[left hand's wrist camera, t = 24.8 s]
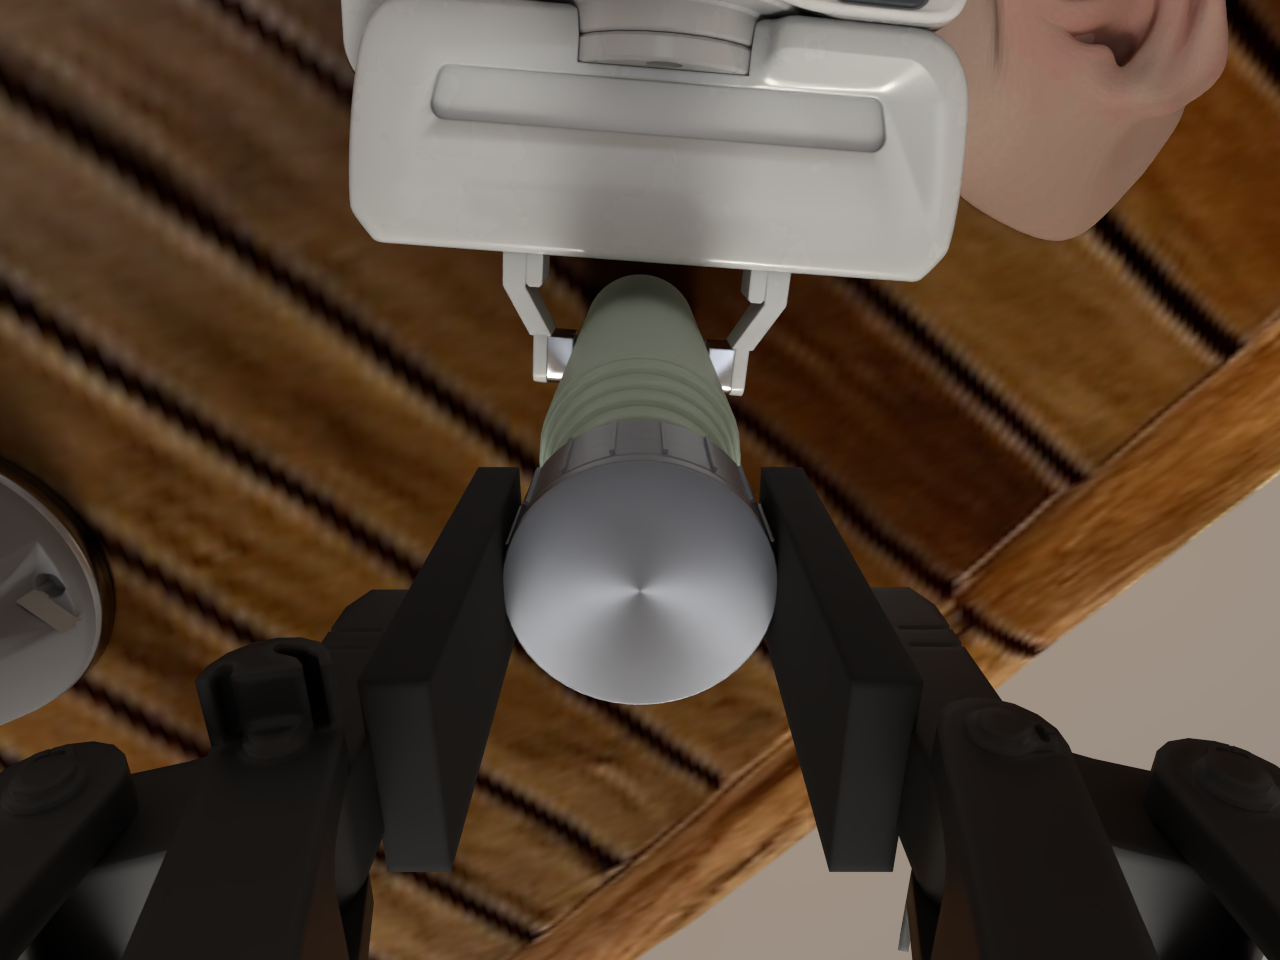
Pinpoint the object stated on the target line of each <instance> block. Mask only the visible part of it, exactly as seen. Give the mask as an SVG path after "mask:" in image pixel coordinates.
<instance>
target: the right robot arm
mask: <svg viewBox="0 0 1280 960" xmlns="http://www.w3.org/2000/svg"><path fill="white" fill-rule="evenodd" d="M966 1H967V0H341V6H342V23H343V39H344V48H345V53H346V57H347V60H348V63H349V65H350V67H351V69H352V71H353V72H354V74H355V78H354V86H353V97H352V107H351V121H350V140H349V197H350V206H351V209H352V211H353V213H354V215H355V216H356V218H357V219H358V220H359V222H360V223H361V224H362V226H363V227H364V228H365V229H366V231H367V232H368V233H369V234H370V236H371V237H372V238H373V239H374V240H376V241H378V242H385V243H397V244H411V245H424V246H437V247H451V248H464V249H478V250H491V251H503V286H504V288H505V290H506V292H507V294H508V295H509V297H510V299H511V301H512V303H513V305H514V306H515V308H516V310H517V312H518V314H519V315H520V317H521V319H522V321H523V323H524V325H525V326H526V328H527V330H528V332H529V334H530V335H534V340H533V379H534V381H538V382H555V383H560V380H561V378H562V375H563V373H564V370H565V368H566V365H567V363H568V360H569V358H570V356H571V353H572V351H573V348H574V346H575V343H576V341H577V330H571V329H561V328H556V325H555V323H554V321H553V319H552V317H551V315H550V313H549V311H548V309H547V307H546V305H545V303H544V301H543V299H542V297H541V295H540V293H539V291H538V289H537V287H540V286H541V285H542V284H543V283H544V282H545V281H546V280H547V279H548V278H549V261H550V255H559V256H572V257H586V258H599V259H612V260H626V261H639V262H653V263H666V264H680V265H693V266H707V267H720V268H734V269H743V276H742V286H741V292H742V294H743V295H744V296H745V297H746V298H747V299H748V300H749V301H750V302H751V304H750V306H749V307H748V309H747V310H746V312H745V313H744V314H743V316H742V317H741V319H740V320H739V322H738V323H737V325H736V326H735V327H734V329H733V330H732V332H731V333H730V335H729V336H728V337H727V340H710V339H706V340H705V346H706V349H707V351H708V353H709V356H710V358H711V361H712V363H713V366H714V368H715V371H716V373H717V376H718V378H719V381H720V383H721V386H722V388H723V391H724V393H725V395H737V396H742V394H743V391H744V388H745V380H746V372H747V364H748V356H749V351H753V349H754V348H755V347H756V345H757V344H758V343H759V342H760V340H761V339H762V338H763V336H764V335H765V334H766V332H767V331H768V330H769V328H770V327H771V326H772V324H773V323H774V322H775V320H776V319H777V318H778V316H779V315H780V314H781V313H782V311H783V310H784V309H785V307H786V304H787V297H788V290H789V283H790V277H791V273H801V274H814V275H828V276H841V277H855V278H868V279H882V280H895V281H909V282H915V281H919V280H921V279H922V278H923V277H924V276H925V275H927V274H928V273H929V272H930V271H931V270H932V269H933V268H934V267H935V266H936V264H937V263H938V262H939V261H940V260H941V259H942V258H943V257H944V256H945V254H946V253H947V251H948V248H949V246H950V242H951V238H952V234H953V230H954V225H955V220H956V214H957V209H958V203H959V197H960V190H961V183H962V176H963V168H964V159H965V150H966V138H967V125H968V109H969V96H968V84H967V77H966V73H965V69H964V67H963V64H962V61H961V59H960V57H959V56H958V54H957V52H956V51H955V49H954V48H953V47H952V46H951V45H950V43H948V42H947V41H946V40H945V39H944V38H942V37H941V36H939V35H937V34H935V32H937V31H939V30H940V29H941V28H943V27H944V26H946V25H947V24H948V23H950V22H951V21H952V20H953V19H954V18H955V17H957V16H958V15H959V14H960V12H961V11H962V9H963V8H964V6H965V4H966Z"/></svg>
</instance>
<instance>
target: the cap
mask: <svg viewBox="0 0 1280 960" xmlns="http://www.w3.org/2000/svg"><path fill="white" fill-rule="evenodd" d="M773 545H775V541H774V538H773V535H772V533H771V530H770V527H769V525H768V522H767V519H766V517H765V514H764V511H763V509H762V506H761V504H757V502H756V499H755V496H754V494H753V491H752V488H751V486H750V484H749V483H748V480H747V478H746V475H745V472H744V469H743V467H742V466H741V465H740V466H737V464H736V463H735V462H734V461H733V460H732V459H731V458H730V457H729V456H728V455H727V454H726V453H725V452H724V451H723V450H722V449H721V448H719V447H718V446H717V445H715V444H714V443H713V442H711V441H710V438H709V437H708V436H705V437H703V436H701V435H699V434H698V433H695V432H693V431H690V430H688V429H686V428H683V427H680V426H676V425H673V424H669V423H665V421H664V420H661V421H660V422H657V421H643V420H633V421H624V422H617V421H612V424H608V425H604V426H600V427H597V428H595V429H592V430H590V431H587V432H585V433H583V434H581V435H579V436H577V437H575V438H574V439H573V437H571V438H569V439H568V443H566V444H565V445H563V446H562V447H561V448H559V449H558V450H557V451H556V452H555V453H554V454H553V455H552V456H551V457H550V458H549V459H548V460H547V461H546V462H545V463H544V465H543V466H542V467H541V468H539V467H538V468H537V469H536V471H535V473H534V476H533V479H532V481H531V484H530V487H529V489H528V491H527V494H526V496H525V499H524V502H523V504H522V506H520V507H519V509H518V512H517V515H516V517H515V520H514V523H513V525H512V528H511V531H510V534H509V536H508V539H507V542H506V552H505V556H504V560H503V564H502V570H503V585H504V598H505V611H506V615H507V618H508V621H509V624H510V626H511V628H512V630H513V632H514V634H515V636H516V638H517V640H518V641H519V643H520V644H521V646H522V647H523V648H524V650H525V651H526V653H527V654H528V655H529V656H530V657H531V658H532V659H533V660H534V662H535V663H536V664H537V665H538V666H539V667H540V668H542V669H543V670H544V671H545V672H546V673H548V674H549V675H550V676H551V677H553V678H554V679H556V680H557V681H559V682H561V683H562V684H564V685H565V686H567V687H569V688H571V689H573V690H575V691H577V692H579V693H582V694H585V695H588V696H590V697H593V698H596V699H600V700H604V701H609V702H613V703H621V704H629V705H649V704H659V703H666V702H671V701H676V700H681V699H684V698H687V697H690V696H693V695H696V694H698V693H700V692H703V691H705V690H707V689H709V688H711V687H713V686H715V685H716V684H718V683H720V682H721V681H723V680H725V679H726V678H727V677H729V676H730V675H731V674H732V673H734V672H735V671H736V670H738V669H739V668H740V667H741V666H742V665H743V664H744V663H745V662H746V661H747V660H748V659H749V658H750V657H751V655H752V654H753V653H754V651H755V650H756V649H757V647H758V646H759V645H760V643H761V641H762V640H763V638H764V636H765V634H766V633H767V631H768V629H769V626H770V624H771V621H772V619H773V616H774V613H775V605H776V592H777V578H778V564H777V560H776V555H775V551H774V548H773Z"/></svg>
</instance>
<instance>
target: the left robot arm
mask: <svg viewBox="0 0 1280 960" xmlns="http://www.w3.org/2000/svg"><path fill="white" fill-rule="evenodd" d="M759 504H761V506H762V509H763V511H764V514H765V517H766V519H767V522H768V525H769V527H770V530H771V533H772V535H773V538H774V541H775V545H773V548H774V551H775V555H776V560H777V564H778V578H777V592H776V605H775V613H774V616H773V619H772V621H771V624H770V626H769V629H768V631H767V633H766V634H765V639H766V643H767V646H768V650H769V653H770V657H771V661H772V664H773V668H774V672H775V675H776V679H777V683H778V686H779V690H780V694H781V697H782V701H783V704H784V708H785V712H786V715H787V719H788V723H789V726H790V730H791V734H792V737H793V741H794V745H795V748H796V752H797V755H798V759H799V763H800V766H801V770H802V774H803V777H804V781H805V785H806V788H807V792H808V796H809V799H810V803H811V806H812V810H813V814H814V817H815V821H816V825H817V828H818V832H819V836H820V839H821V843H822V847H823V850H824V854H825V857H826V861H827V865H828V868H829V871H830V872H893V867H894V861H895V855H896V849H897V842H898V836H899V837H900V840H901V842H902V845H903V847H904V850H905V852H906V855H907V857H908V860H909V862H910V865H911V868H912V870H911V876H910V882H909V888H908V893H907V899H906V905H905V911H904V916H903V922H902V928H901V933H900V940H899V947H898V950H901V951H906V952H908V950H909V945H910V941H911V950H912V960H1262V958H1263V955H1265V957H1266V958H1267V959H1268V960H1280V768H1279V767H1277V766H1276V765H1274V764H1272V763H1270V762H1268V761H1266V760H1264V759H1262V758H1260V757H1258V756H1256V755H1254V754H1252V753H1250V752H1248V751H1246V750H1243V749H1241V748H1238V747H1235V746H1229V745H1228V744H1224V743H1220V742H1216V741H1209V740H1200V739H1192V738H1186V739H1180V740H1174V741H1169V742H1167V743H1166V744H1165V745H1163V746H1162V747H1161V748H1160V749H1159V750H1157V752H1156V755H1155V759H1154V762H1153V765H1152V769H1151V771H1148V770H1144V769H1139V768H1134V767H1129V766H1125V765H1120V764H1115V763H1111V762H1106V761H1101V760H1097V759H1092V758H1089V757H1085V756H1082V755H1078V754H1075V753H1072V752H1071V749H1070V747H1069V745H1068V744H1067V742H1066V741H1065V739H1064V738H1063V737H1062V735H1061V734H1060V732H1059V731H1058V730H1057V729H1056V728H1055V727H1054V726H1052V725H1051V724H1050V723H1048V722H1047V721H1046V720H1044V719H1043V718H1042V717H1040V716H1039V715H1038V714H1035V713H1033V712H1031V711H1029V710H1027V709H1024V708H1022V707H1020V706H1018V705H1016V704H1013V703H1008V702H1004V701H1002V700H1001V699H1000V697H999V696H998V694H997V693H996V691H995V690H994V689H993V687H992V686H991V684H990V683H989V681H988V680H987V679H986V677H985V676H984V674H983V673H982V671H981V670H980V669H979V667H978V666H977V664H976V663H975V661H974V660H973V659H972V657H971V656H970V654H969V653H968V651H967V650H966V649H965V647H962V646H961V641H960V640H959V639H958V637H957V636H956V634H955V633H954V631H953V630H952V629H949V624H948V623H947V621H946V620H945V619H944V617H943V616H942V614H941V613H940V611H939V610H938V609H937V607H936V606H935V605H934V604H933V603H931V602H930V601H928V600H927V599H926V598H924V597H923V596H921V595H920V594H918V593H917V592H915V591H914V590H912V589H911V588H909V587H870V586H869V584H868V583H867V581H866V579H865V577H864V576H863V574H862V572H861V570H860V569H859V567H858V565H857V563H856V562H855V560H854V558H853V556H852V555H851V553H850V551H849V549H848V548H847V546H846V544H845V542H844V540H843V539H842V537H841V535H840V533H839V532H838V530H837V528H836V526H835V525H834V523H833V521H832V519H831V518H830V516H829V514H828V512H827V511H826V509H825V507H824V505H823V504H822V502H821V500H820V498H819V497H818V495H817V493H816V491H815V490H814V488H813V486H812V484H811V483H810V481H809V479H808V477H807V475H806V474H805V472H804V470H803V468H802V467H761V481H760V497H759ZM520 506H521V489H520V473H519V467H479V468H478V469H477V471H476V473H475V475H474V476H473V478H472V480H471V482H470V483H469V485H468V487H467V489H466V490H465V492H464V494H463V496H462V497H461V499H460V501H459V503H458V505H457V506H456V508H455V510H454V512H453V513H452V515H451V517H450V519H449V520H448V522H447V524H446V526H445V527H444V529H443V531H442V533H441V534H440V536H439V538H438V540H437V541H436V543H435V545H434V547H433V548H432V550H431V552H430V554H429V555H428V557H427V559H426V561H425V563H424V564H423V566H422V568H421V570H420V571H419V573H418V575H417V577H416V578H415V580H414V582H413V584H412V585H411V587H410V589H409V590H371V591H369V592H368V593H366V594H365V595H363V596H362V597H360V598H359V599H357V600H356V601H355V602H353V603H352V604H350V605H349V606H347V607H346V608H345V609H344V611H343V612H342V614H341V615H340V617H339V618H338V620H337V621H336V622H335V624H334V625H333V627H332V631H331V632H328V634H327V635H326V637H325V638H324V640H323V641H322V643H320V642H317V641H313V640H309V639H305V638H301V637H296V638H275V639H270V640H265V641H260V642H255V643H251V644H249V645H246V646H244V647H241V648H239V649H236V650H234V651H231V652H229V653H227V654H225V655H224V656H222V657H221V658H219V659H218V660H216V661H215V662H213V663H211V664H210V665H208V666H207V667H206V668H205V670H204V671H203V672H202V673H201V674H200V676H199V677H198V678H197V679H196V680H195V684H196V688H197V692H198V696H199V699H200V703H201V707H202V711H203V715H204V719H205V723H206V727H207V731H208V735H209V739H210V743H211V748H210V751H209V753H208V755H207V757H203V758H200V759H196V760H193V761H189V762H185V763H180V764H176V765H171V766H166V767H162V768H157V769H152V770H148V771H143V772H138V773H134V774H131V773H130V769H129V766H128V763H127V760H126V756H125V754H124V753H123V752H122V751H120V750H119V749H118V748H117V747H116V746H114V745H112V744H106V743H100V742H94V741H92V742H83V743H75V744H66V745H63V746H59V747H55V748H53V749H50V750H49V749H48V750H45V751H42V752H39V753H37V754H34V755H32V756H31V757H29V758H27V759H25V760H23V761H21V762H18V763H16V764H14V765H12V766H10V767H8V768H6V769H5V770H4V771H2V772H1V773H0V960H17V959H19V960H368V952H369V943H370V933H371V924H372V914H373V905H374V902H373V895H372V888H371V882H370V876H369V870H370V868H371V865H372V863H373V860H374V858H375V855H376V852H377V850H378V847H379V845H380V842H381V840H382V839H383V845H384V852H385V858H386V864H387V870H388V872H451V870H452V867H453V863H454V859H455V856H456V852H457V848H458V845H459V841H460V837H461V834H462V830H463V826H464V823H465V819H466V816H467V812H468V808H469V805H470V801H471V797H472V794H473V790H474V786H475V783H476V779H477V775H478V772H479V768H480V765H481V761H482V757H483V754H484V750H485V746H486V743H487V739H488V735H489V732H490V728H491V724H492V721H493V717H494V714H495V710H496V706H497V703H498V699H499V695H500V692H501V688H502V684H503V681H504V677H505V673H506V670H507V666H508V662H509V659H510V655H511V652H512V648H513V644H514V641H515V637H516V636H515V634H514V632H513V630H512V628H511V626H510V624H509V621H508V618H507V615H506V611H505V598H504V585H503V570H502V564H503V560H504V556H505V552H506V542H507V539H508V536H509V534H510V531H511V528H512V525H513V523H514V520H515V517H516V515H517V512H518V509H519V507H520ZM114 613H115V606H114V594H113V588H112V583H111V580H110V576H109V572H108V570H107V567H106V565H105V562H104V559H103V557H102V555H101V553H100V551H99V549H98V547H97V546H96V544H95V542H94V541H93V539H92V537H91V536H90V534H89V533H88V531H87V530H86V529H85V527H84V526H83V525H82V523H81V522H80V521H79V519H78V518H77V517H76V516H75V515H74V514H73V513H72V511H71V510H70V509H69V508H68V507H67V506H66V505H65V504H64V503H63V502H62V501H61V500H60V499H59V498H58V497H57V496H55V495H54V494H53V493H52V492H51V491H50V490H48V489H47V488H46V487H45V486H44V485H42V484H41V483H39V482H38V481H37V480H35V479H34V478H33V477H31V476H30V475H28V474H27V473H25V472H23V471H22V470H20V469H19V468H17V467H15V466H13V465H12V464H10V463H8V462H6V461H4V460H2V459H0V725H3V724H5V723H7V722H10V721H12V720H15V719H17V718H19V717H21V716H24V715H26V714H28V713H30V712H33V711H35V710H37V709H39V708H41V707H42V706H44V705H46V704H47V703H49V702H50V701H52V700H54V699H56V698H57V697H59V696H60V695H62V694H63V693H64V692H66V691H67V690H68V689H69V688H70V687H71V686H73V685H74V684H75V683H76V682H77V681H78V680H79V679H80V678H82V677H83V676H84V675H85V674H86V673H87V672H88V671H90V669H91V668H92V667H93V666H94V665H95V664H96V663H97V661H98V660H99V659H100V657H101V656H102V654H103V652H104V650H105V648H106V646H107V644H108V642H109V639H110V636H111V633H112V628H113V623H114Z"/></svg>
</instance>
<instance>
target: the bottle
mask: <svg viewBox="0 0 1280 960" xmlns="http://www.w3.org/2000/svg"><path fill="white" fill-rule="evenodd" d="M633 420H643V421H657V422H660V421H661V420H664V421H665V423H669V424H673V425H676V426H680V427H683V428H686V429H688V430H690V431H693V432H695V433H698V434H699V435H701V436H703V437H705V436H708V437H709V438H710V441H711V442H713V443H714V444H715V445H717V446H718V447H719V448H721V449H722V450H723V451H724V452H725V453H726V454H727V455H728V456H729V457H730V458H731V459H732V460H733V461H734V462H735V463H736V464H737V466H740V458H741V455H740V441H739V432H738V428H737V424H736V420H735V418H734V415H733V413H732V410H731V408H730V405H729V403H728V400H727V398H726V395H725V393H724V391H723V388H722V386H721V383H720V381H719V378H718V376H717V373H716V371H715V368H714V366H713V363H712V361H711V358H710V356H709V353H708V351H707V349H706V346H705V344H704V341H703V339H702V336H701V334H700V331H699V329H698V326H697V324H696V321H695V319H694V316H693V314H692V311H691V309H690V306H689V304H688V303H687V301H686V299H685V298H684V296H683V295H682V294H681V293H680V292H679V291H678V290H677V289H676V288H675V287H674V286H673V285H671V284H670V283H668V282H667V281H665V280H663V279H660V278H658V277H655V276H651V275H643V274H641V275H629V276H625V277H622V278H619V279H617V280H615V281H613V282H612V283H610V284H608V285H607V286H606V287H605V288H604V289H602V290H601V292H600V293H599V294H598V295H597V296H596V298H595V299H594V301H593V302H592V304H591V306H590V309H589V311H588V313H587V316H586V318H585V321H584V323H583V326H582V328H581V331H580V333H579V336H578V338H577V341H576V343H575V346H574V348H573V351H572V353H571V356H570V358H569V360H568V363H567V365H566V368H565V370H564V373H563V375H562V378H561V380H560V383H559V385H558V388H557V390H556V393H555V395H554V398H553V400H552V403H551V405H550V407H549V410H548V413H547V415H546V418H545V421H544V424H543V428H542V433H541V442H540V458H539V460H540V468H541V467H542V466H543V465H544V463H545V462H546V461H547V460H548V459H549V458H550V457H551V456H552V455H553V454H554V453H555V452H556V451H557V450H558V449H559V448H561V447H562V446H563V445H565V444H566V443H568V439H569V438H571V437H573V439H574V438H575V437H577V436H579V435H581V434H583V433H585V432H587V431H590V430H592V429H595V428H597V427H600V426H604V425H608V424H612V421H617V422H624V421H633Z"/></svg>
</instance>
